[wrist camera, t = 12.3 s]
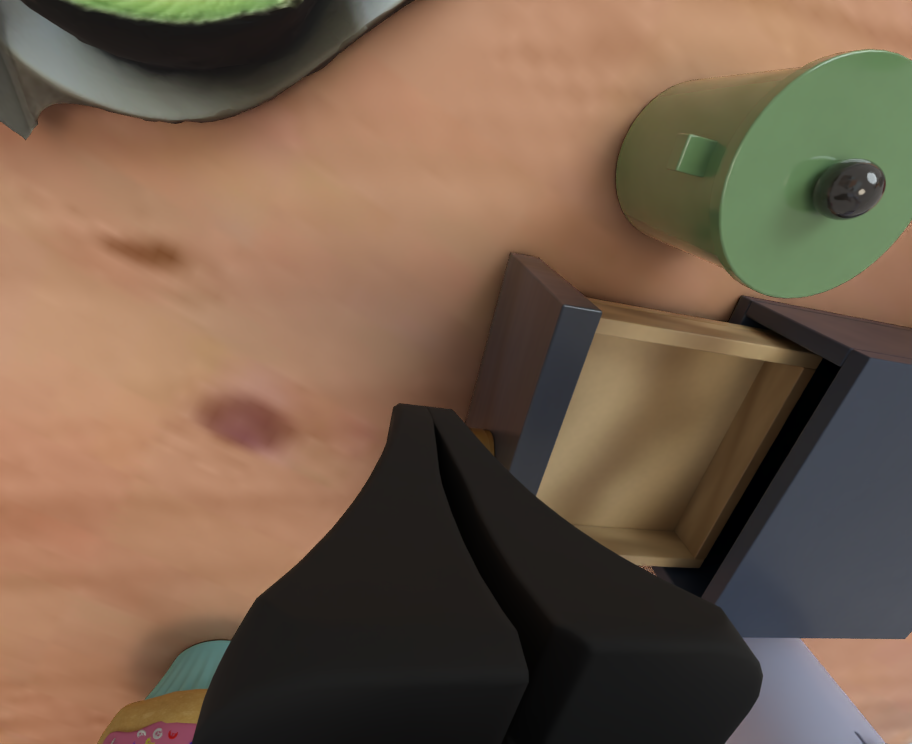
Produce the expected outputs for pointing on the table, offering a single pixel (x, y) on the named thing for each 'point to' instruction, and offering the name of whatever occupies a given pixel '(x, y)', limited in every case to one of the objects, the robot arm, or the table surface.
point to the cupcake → (170, 701)
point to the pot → (777, 170)
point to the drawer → (630, 412)
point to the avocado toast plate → (168, 53)
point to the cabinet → (824, 493)
